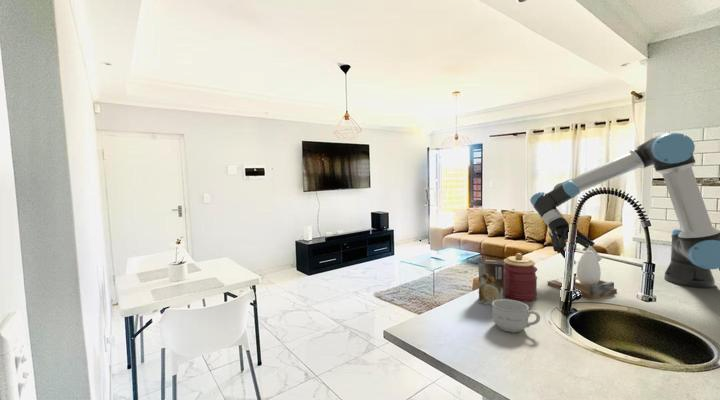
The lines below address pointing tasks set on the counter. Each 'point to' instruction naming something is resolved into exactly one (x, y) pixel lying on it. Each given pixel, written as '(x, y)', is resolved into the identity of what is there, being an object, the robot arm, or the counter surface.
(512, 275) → the canister
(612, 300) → the counter surface
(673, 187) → the robot arm
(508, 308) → the teacup
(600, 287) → the guide board
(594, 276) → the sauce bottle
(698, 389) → the counter surface
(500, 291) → the coffee box
